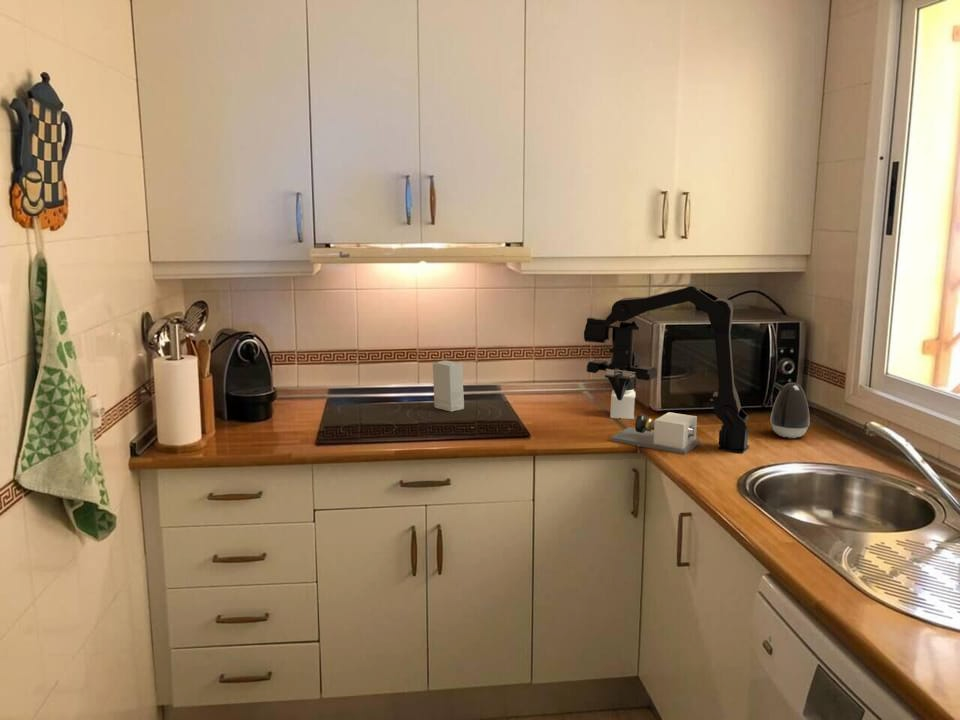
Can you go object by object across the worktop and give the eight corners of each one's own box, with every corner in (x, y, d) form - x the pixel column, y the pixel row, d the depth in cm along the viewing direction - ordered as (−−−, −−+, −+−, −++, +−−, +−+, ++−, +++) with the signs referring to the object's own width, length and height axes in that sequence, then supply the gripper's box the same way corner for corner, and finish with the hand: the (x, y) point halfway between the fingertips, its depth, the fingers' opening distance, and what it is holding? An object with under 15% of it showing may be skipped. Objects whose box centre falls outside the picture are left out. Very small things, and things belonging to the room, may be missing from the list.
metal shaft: (696, 439, 214) (697, 420, 213) (690, 443, 210) (691, 425, 209) (641, 429, 223) (642, 412, 222) (634, 434, 218) (635, 416, 218)
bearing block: (700, 443, 217) (701, 416, 216) (684, 454, 208) (686, 426, 206) (628, 430, 229) (629, 405, 227) (610, 440, 219) (611, 414, 218)
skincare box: (464, 409, 252) (464, 362, 249) (450, 412, 248) (450, 365, 245) (446, 404, 258) (446, 359, 255) (432, 407, 254) (432, 361, 251)
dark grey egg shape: (778, 428, 232) (782, 377, 229) (814, 435, 224) (819, 382, 222) (762, 435, 225) (766, 382, 222) (798, 443, 217) (802, 388, 215)
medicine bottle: (634, 419, 240) (635, 380, 238) (610, 418, 242) (611, 379, 240) (634, 413, 247) (636, 375, 245) (611, 412, 249) (612, 374, 246)
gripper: (665, 344, 220) (662, 399, 224) (603, 337, 231) (601, 389, 234) (650, 350, 211) (647, 407, 214) (586, 342, 222) (584, 397, 225)
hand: (619, 400), depth 222 cm, fingers closed
